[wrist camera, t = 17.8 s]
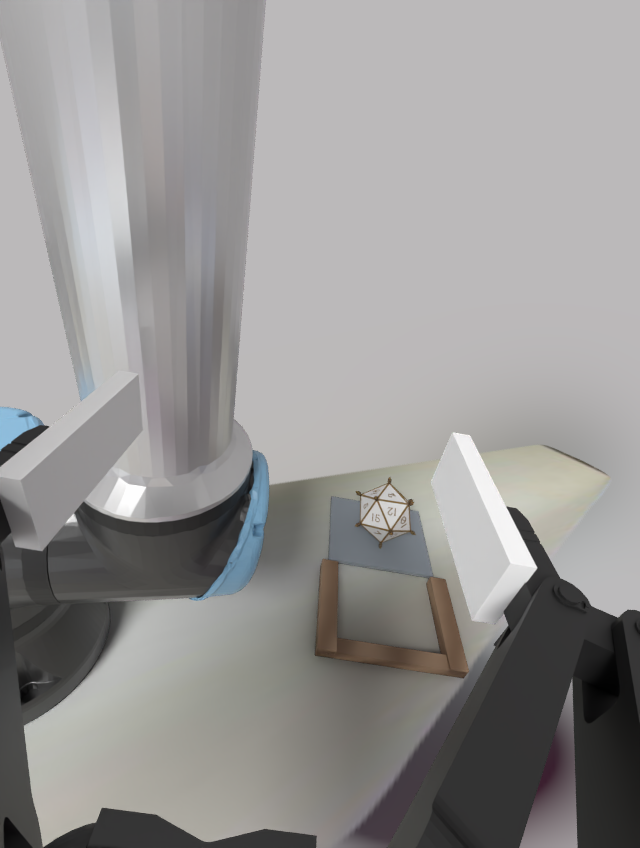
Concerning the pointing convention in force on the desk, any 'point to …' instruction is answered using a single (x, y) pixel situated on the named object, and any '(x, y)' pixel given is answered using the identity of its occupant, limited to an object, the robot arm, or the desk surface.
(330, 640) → the open frame
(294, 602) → the desk surface
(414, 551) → the mat
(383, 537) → the game die
